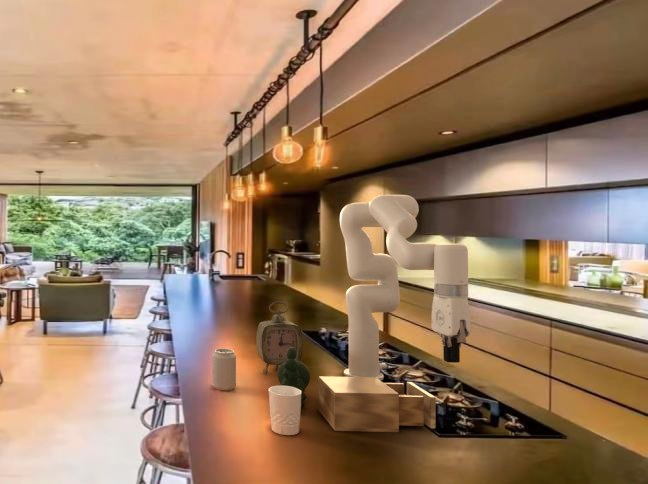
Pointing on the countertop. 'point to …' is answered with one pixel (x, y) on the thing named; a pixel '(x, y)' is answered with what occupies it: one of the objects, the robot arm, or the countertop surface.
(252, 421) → the countertop surface
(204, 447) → the countertop surface
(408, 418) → the drawer
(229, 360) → the can
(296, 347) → the tabletop clock
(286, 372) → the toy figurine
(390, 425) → the cabinet
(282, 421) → the white cup
